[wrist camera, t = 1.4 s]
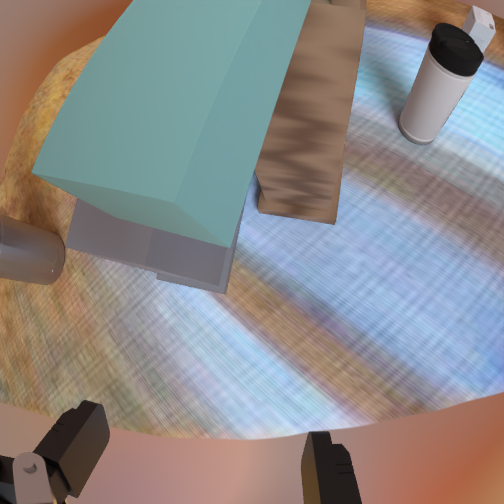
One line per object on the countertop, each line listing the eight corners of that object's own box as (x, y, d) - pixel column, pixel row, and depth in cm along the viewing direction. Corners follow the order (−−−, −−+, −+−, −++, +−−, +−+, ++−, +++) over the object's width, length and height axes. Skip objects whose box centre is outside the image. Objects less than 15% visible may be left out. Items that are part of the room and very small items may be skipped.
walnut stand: (259, 212, 42) (155, 5, 10) (273, 140, 44) (219, -76, 12) (334, 224, 41) (394, 10, 9) (343, 150, 42) (375, -72, 10)
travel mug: (391, 111, 42) (423, 16, 23) (427, 111, 41) (470, 23, 22) (402, 146, 41) (448, 55, 21) (440, 145, 40) (496, 62, 21)
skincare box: (453, 44, 43) (470, 2, 31) (472, 53, 42) (492, 13, 30) (453, 62, 42) (473, 19, 30) (474, 72, 41) (496, 31, 29)
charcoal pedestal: (160, 279, 43) (56, 254, 23) (189, 162, 46) (120, 74, 25) (225, 294, 41) (152, 279, 21) (252, 168, 44) (212, 68, 23)
